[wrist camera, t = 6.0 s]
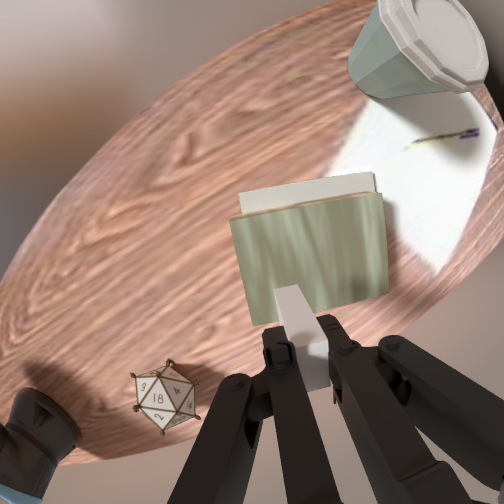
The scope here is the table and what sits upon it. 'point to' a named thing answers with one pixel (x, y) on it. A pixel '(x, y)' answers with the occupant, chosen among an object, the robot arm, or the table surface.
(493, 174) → the table surface
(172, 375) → the game die
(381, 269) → the wooden block
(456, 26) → the disposable coffee cup
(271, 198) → the mat
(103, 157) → the table surface
